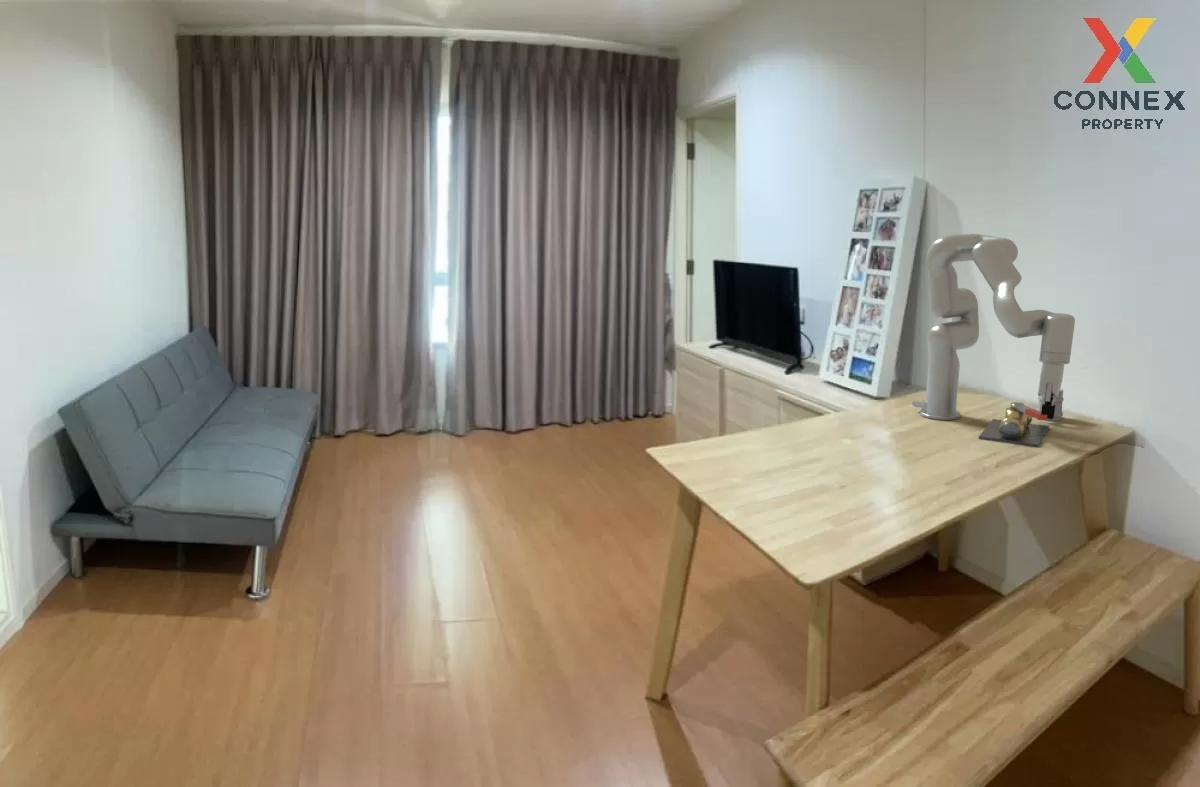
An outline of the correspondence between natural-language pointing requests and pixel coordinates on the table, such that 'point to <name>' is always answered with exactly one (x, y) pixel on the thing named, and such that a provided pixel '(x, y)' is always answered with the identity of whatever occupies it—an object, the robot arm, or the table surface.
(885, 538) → the table surface
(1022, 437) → the valve body
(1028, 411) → the lever
